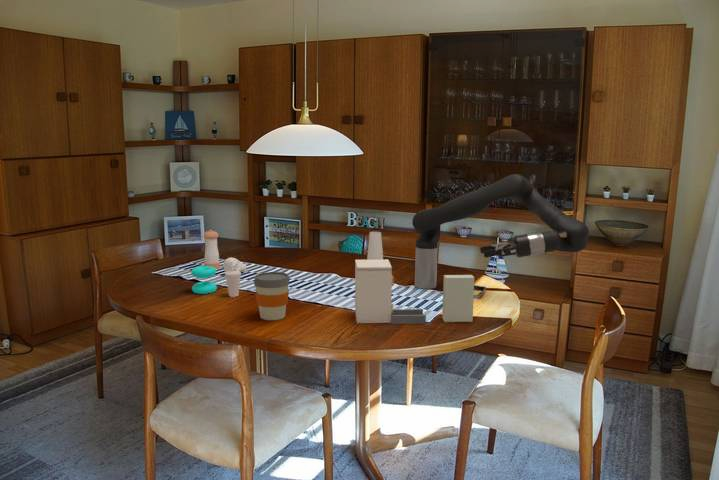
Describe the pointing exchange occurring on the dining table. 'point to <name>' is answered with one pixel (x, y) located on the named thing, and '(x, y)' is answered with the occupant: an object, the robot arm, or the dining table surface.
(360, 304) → the hinge cabinet
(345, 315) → the dining table surface
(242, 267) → the white lumpy piece
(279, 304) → the reusable coffee cup
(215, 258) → the salt shaker
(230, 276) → the smoothie
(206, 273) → the donuts
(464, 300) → the door panel
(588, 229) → the robot arm
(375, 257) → the champagne flute
